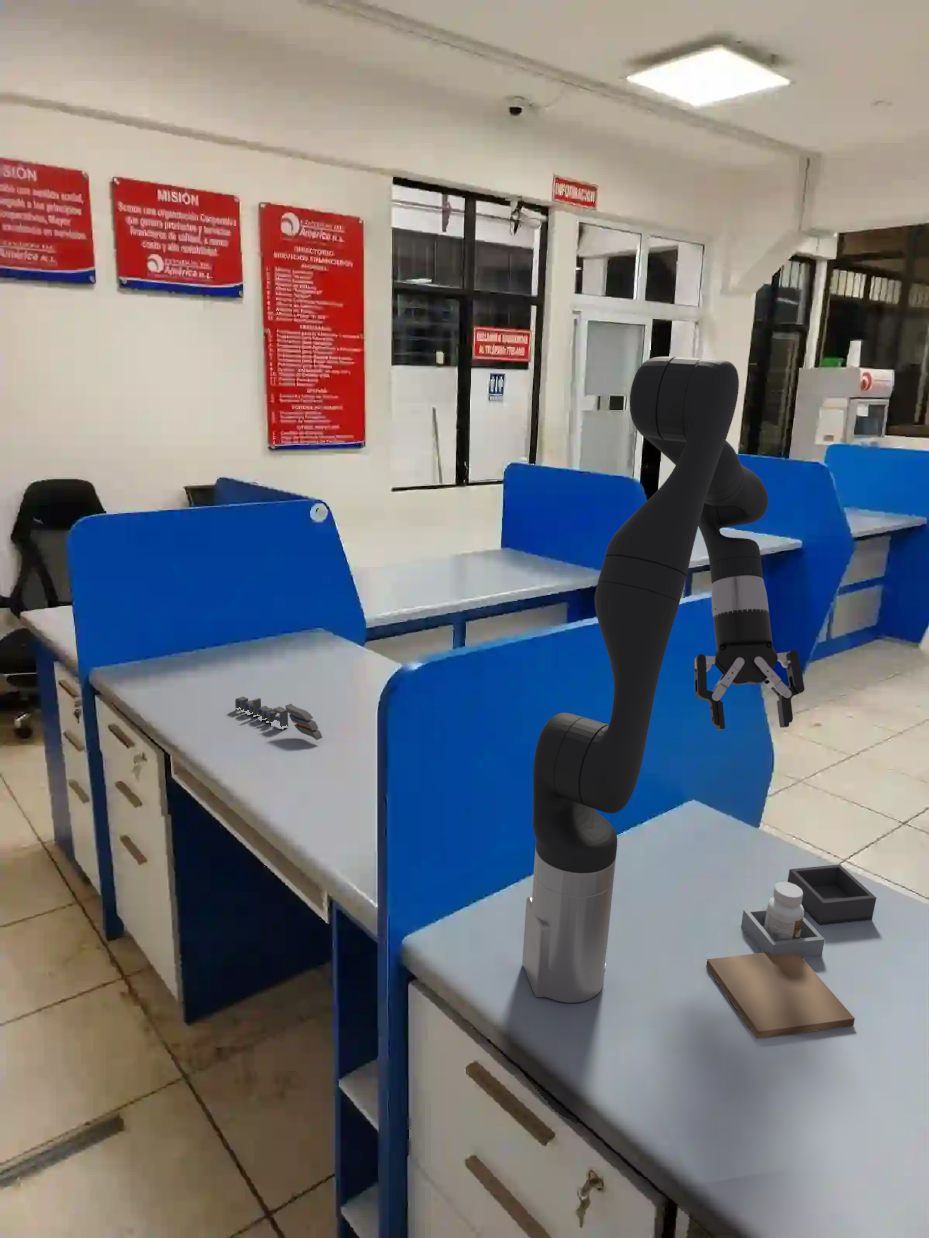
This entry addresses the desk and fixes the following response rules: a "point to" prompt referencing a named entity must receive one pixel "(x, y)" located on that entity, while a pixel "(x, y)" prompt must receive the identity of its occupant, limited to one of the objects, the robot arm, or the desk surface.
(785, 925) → the pill bottle
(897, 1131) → the desk surface
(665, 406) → the robot arm
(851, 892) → the box
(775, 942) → the sleeve
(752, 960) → the walnut pad
